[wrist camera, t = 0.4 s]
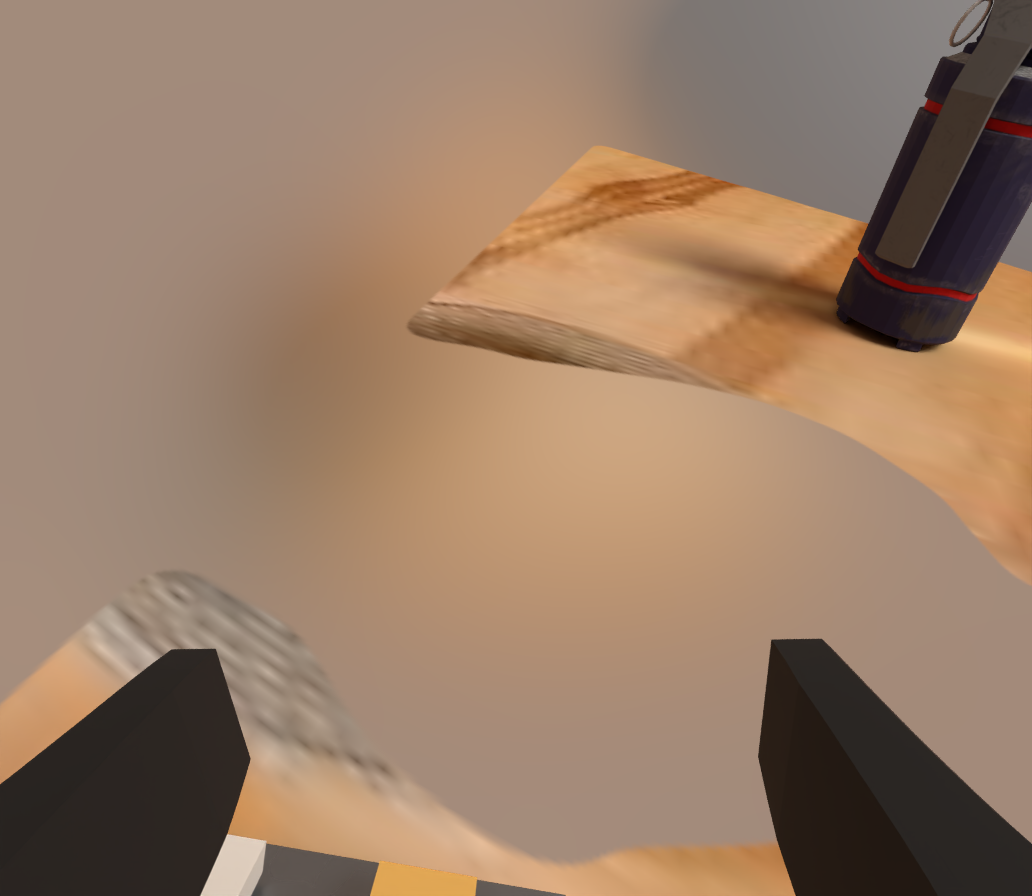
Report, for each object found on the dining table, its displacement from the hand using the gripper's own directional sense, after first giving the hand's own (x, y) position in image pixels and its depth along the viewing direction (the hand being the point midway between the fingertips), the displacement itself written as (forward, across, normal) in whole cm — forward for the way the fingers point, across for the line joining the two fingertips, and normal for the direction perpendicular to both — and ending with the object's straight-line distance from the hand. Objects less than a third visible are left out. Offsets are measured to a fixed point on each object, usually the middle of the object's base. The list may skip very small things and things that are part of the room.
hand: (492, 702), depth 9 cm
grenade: (+67, -34, +17) cm, 77 cm away
